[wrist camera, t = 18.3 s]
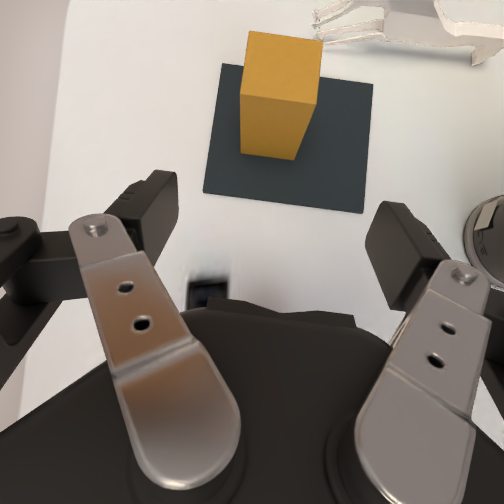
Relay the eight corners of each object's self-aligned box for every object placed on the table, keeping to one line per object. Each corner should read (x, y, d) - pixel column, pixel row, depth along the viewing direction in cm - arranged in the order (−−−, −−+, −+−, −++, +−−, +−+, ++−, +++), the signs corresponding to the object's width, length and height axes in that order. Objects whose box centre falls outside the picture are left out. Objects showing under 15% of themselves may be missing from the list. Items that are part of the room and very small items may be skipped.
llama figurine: (323, 91, 37) (496, 63, 31) (307, 11, 27) (564, -57, 20) (324, 78, 38) (496, 48, 31) (308, -6, 27) (563, -79, 21)
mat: (371, 86, 31) (373, 83, 31) (361, 213, 29) (363, 212, 29) (222, 65, 31) (222, 62, 30) (203, 192, 29) (202, 191, 29)
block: (299, 114, 30) (323, 40, 21) (294, 160, 29) (316, 104, 20) (247, 107, 30) (249, 30, 21) (240, 153, 29) (239, 93, 20)
